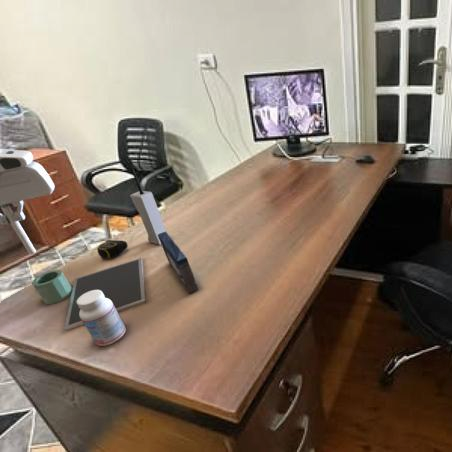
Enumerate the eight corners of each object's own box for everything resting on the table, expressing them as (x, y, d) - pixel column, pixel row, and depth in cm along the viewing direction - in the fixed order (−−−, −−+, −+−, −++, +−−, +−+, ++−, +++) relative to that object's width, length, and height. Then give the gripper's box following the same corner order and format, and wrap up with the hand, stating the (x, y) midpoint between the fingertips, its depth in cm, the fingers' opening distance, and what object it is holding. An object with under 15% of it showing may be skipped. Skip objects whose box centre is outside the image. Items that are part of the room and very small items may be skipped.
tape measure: (130, 248, 110) (126, 238, 108) (114, 261, 104) (109, 251, 102) (113, 247, 111) (108, 237, 109) (95, 260, 106) (90, 249, 104)
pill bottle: (91, 338, 77) (67, 299, 71) (120, 321, 80) (99, 283, 75) (101, 351, 73) (77, 311, 67) (131, 333, 77) (110, 294, 71)
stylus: (28, 254, 84) (-2, 206, 77) (29, 252, 85) (0, 204, 78) (35, 253, 84) (6, 204, 78) (36, 250, 85) (8, 202, 79)
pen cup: (41, 307, 88) (29, 289, 85) (46, 293, 93) (34, 275, 90) (71, 298, 90) (60, 279, 87) (73, 284, 95) (63, 266, 92)
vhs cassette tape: (168, 263, 100) (157, 234, 95) (179, 259, 102) (168, 230, 97) (187, 295, 87) (174, 262, 82) (199, 290, 88) (187, 257, 83)
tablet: (65, 331, 79) (63, 328, 79) (75, 281, 97) (74, 278, 96) (146, 302, 86) (144, 299, 85) (142, 260, 103) (141, 257, 103)
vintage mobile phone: (158, 236, 115) (130, 164, 103) (169, 239, 113) (141, 165, 100) (149, 242, 112) (118, 168, 100) (160, 245, 110) (130, 170, 98)
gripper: (-95, 180, 67) (-50, 241, 74) (33, 156, 75) (63, 213, 82) (-80, 171, 72) (-40, 229, 79) (39, 150, 80) (66, 204, 87)
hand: (13, 221), depth 80 cm, fingers closed on stylus, 1 cm apart
